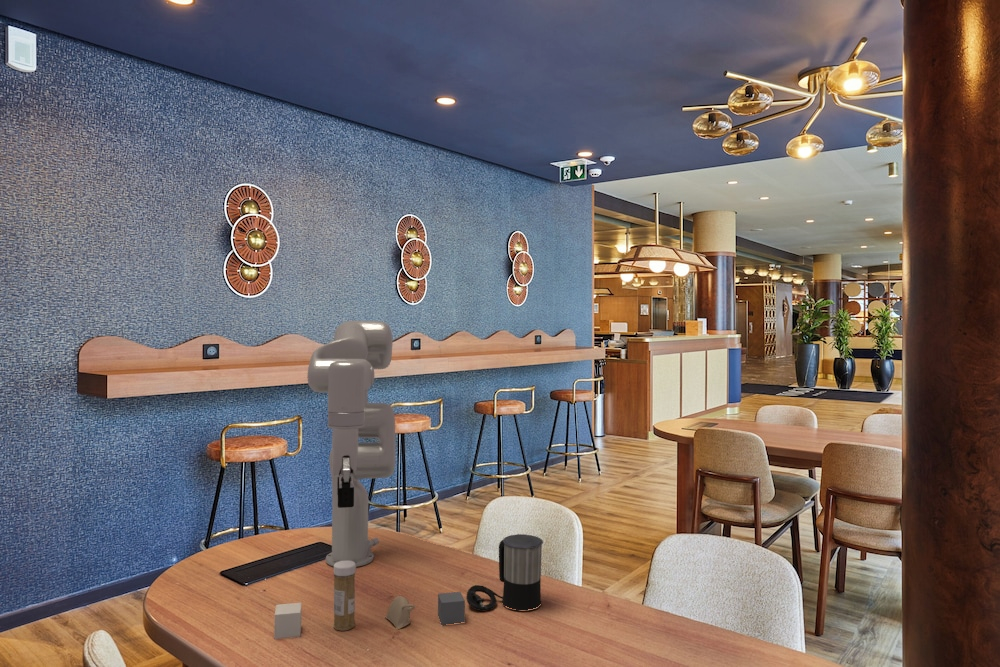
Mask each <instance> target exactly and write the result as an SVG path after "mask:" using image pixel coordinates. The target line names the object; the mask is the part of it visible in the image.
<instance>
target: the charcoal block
mask: <svg viewBox="0 0 1000 667" xmlns="http://www.w3.org/2000/svg"><path fill="white" fill-rule="evenodd" d="M465 603H466V600H465V597H464V596H463V594H462V591H455V592H453V591H452V592H443V593H442V592H441V593H437V617H438V616H439V618H438V620H439V619H440V620H439V623H440V622H441V623H440V626H441V625H445V626H447V625H446V624H454V623H461V622H466V621H465V620H466V619H465V616H466V615H465V612H466V609H465V607H466V604H465Z"/></svg>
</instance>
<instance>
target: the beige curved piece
mask: <svg viewBox="0 0 1000 667" xmlns="http://www.w3.org/2000/svg"><path fill="white" fill-rule="evenodd" d="M414 609H416V605H414V604H412V603H411V604H410V602H409V599H407V598H406V597H405V596H401V595H398V596H396V597H395V598H394V599H393V600H392V601H391V602H390V604H389V607H388V610H387V614H386V615H385V617H386V618H385V619H388V620H389V621H390V622H391V623H392V624H393V625H394V628H395V629H396V628H397V629H399V630H400V629H402V628H404V627H406V626H407V625H409V624H411V619H410V615H411V611H412V610H414ZM397 629H396V630H397Z"/></svg>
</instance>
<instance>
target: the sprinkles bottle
mask: <svg viewBox="0 0 1000 667" xmlns="http://www.w3.org/2000/svg"><path fill="white" fill-rule="evenodd" d="M356 569H357V567H356V564H355V562H353V561H339V562H337V563H335V564H334V566H333V576H334V579H333V580H334V581H333V582H334V584H333V618H334V619H333V628H334V629H335V630H336V631H340V632H343V631H349V630H352V629H353V628H354V627H355V625H356V622H355V613H356V612H355V611H356V606H355V605H356V602H355V601H356V598H355V597H356V592H355V591H356V589H355V588H356V586H355V581H356V579H355V578H356V577H355V575H356V572H357V571H356Z"/></svg>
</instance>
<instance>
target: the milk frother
mask: <svg viewBox="0 0 1000 667" xmlns="http://www.w3.org/2000/svg"><path fill="white" fill-rule="evenodd" d="M543 543H544V540H543V539H542V538H540V537H538V536H535V535H531V534H524V533H522V534H519V533H517V534H511V535H508V536H506V537H504V538H503V539H502V540H501V541H500V542H499V543H498V569H499V570H498V575H499V577H498V579H499V581H500V582H501V583H503V593H502V596H501V595H499V594H498V593H497V592H495V591H494V590H492V589H491V588H488V587H486V586H484V585H479V584H478V585H477V584H475V585H472V586H470V587H469V589H468V590H467V591H466V595H465V596H466V598H465V599H466V602H467V604H468V605H469V606H470V607H471V608H473V609H475V610H477V611H490V610H492V609H494V608H495V606H496V605H497V598H499V599H502V601H501V604H502V603H503V605H505V606H507V607H509V608H512V609H516V610H528V609H533V608H536V607H538V606H539V605H540V604H541V602H542V600H541V599H542V598H541V594H542V592H541V582H542V581H541V580H542V578H541V576H542V553H543V552H542V550H543V549H542V547H543ZM477 592H479V593H480V592H481V593H484V594H485V595H487V596H488V597H489V599H490V602H489V603H488V604H484V601H485V599H484V598H482V597H481V595H479V594H477ZM496 597H497V598H496ZM503 605H502V606H503ZM493 607H494V608H493ZM491 608H492V609H491ZM489 609H490V610H489Z"/></svg>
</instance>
